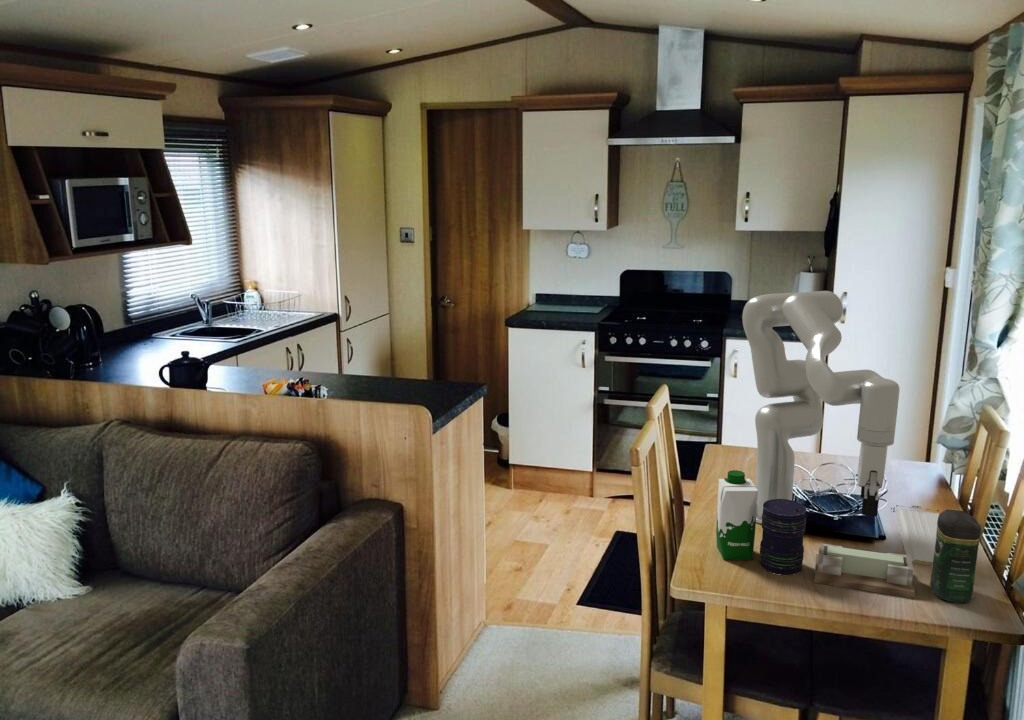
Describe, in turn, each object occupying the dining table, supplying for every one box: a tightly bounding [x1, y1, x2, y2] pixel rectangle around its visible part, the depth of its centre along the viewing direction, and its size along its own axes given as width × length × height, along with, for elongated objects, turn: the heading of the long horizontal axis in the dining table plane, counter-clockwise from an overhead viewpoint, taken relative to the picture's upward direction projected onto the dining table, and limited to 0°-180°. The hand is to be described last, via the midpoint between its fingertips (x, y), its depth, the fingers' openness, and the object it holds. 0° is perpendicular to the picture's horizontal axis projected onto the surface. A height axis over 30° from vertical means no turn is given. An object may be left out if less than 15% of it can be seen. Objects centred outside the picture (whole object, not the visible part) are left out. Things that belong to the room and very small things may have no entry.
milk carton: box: [715, 469, 758, 561], centre depth 206 cm, size 9×9×20 cm
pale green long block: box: [827, 546, 904, 579], centre depth 195 cm, size 16×4×4 cm, turn 69°
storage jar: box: [759, 499, 807, 576], centre depth 200 cm, size 10×10×15 cm
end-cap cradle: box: [814, 543, 915, 599], centre depth 195 cm, size 21×12×6 cm, turn 69°
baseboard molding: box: [890, 505, 940, 566], centre depth 216 cm, size 31×3×12 cm
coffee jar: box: [929, 508, 982, 604], centre depth 186 cm, size 10×8×19 cm
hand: (868, 506), depth 192 cm, fingers open, 9 cm apart
